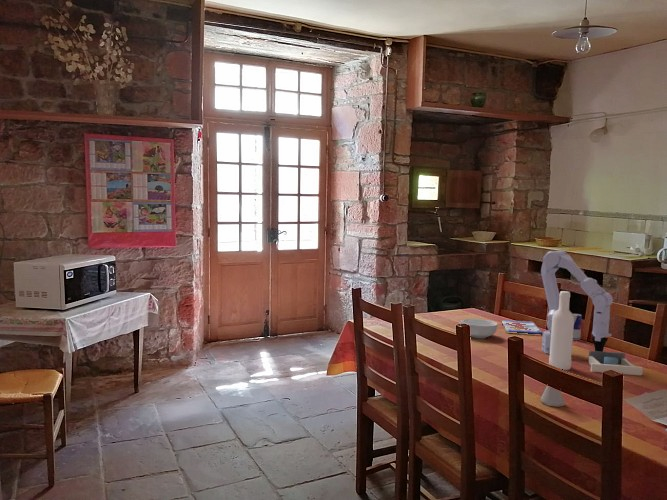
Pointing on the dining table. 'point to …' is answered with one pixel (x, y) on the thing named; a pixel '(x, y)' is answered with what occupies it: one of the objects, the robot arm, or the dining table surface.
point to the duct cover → (606, 355)
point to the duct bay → (615, 367)
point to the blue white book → (528, 325)
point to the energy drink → (577, 326)
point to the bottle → (562, 334)
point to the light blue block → (610, 360)
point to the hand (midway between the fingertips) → (598, 354)
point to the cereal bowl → (480, 327)
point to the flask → (552, 397)
